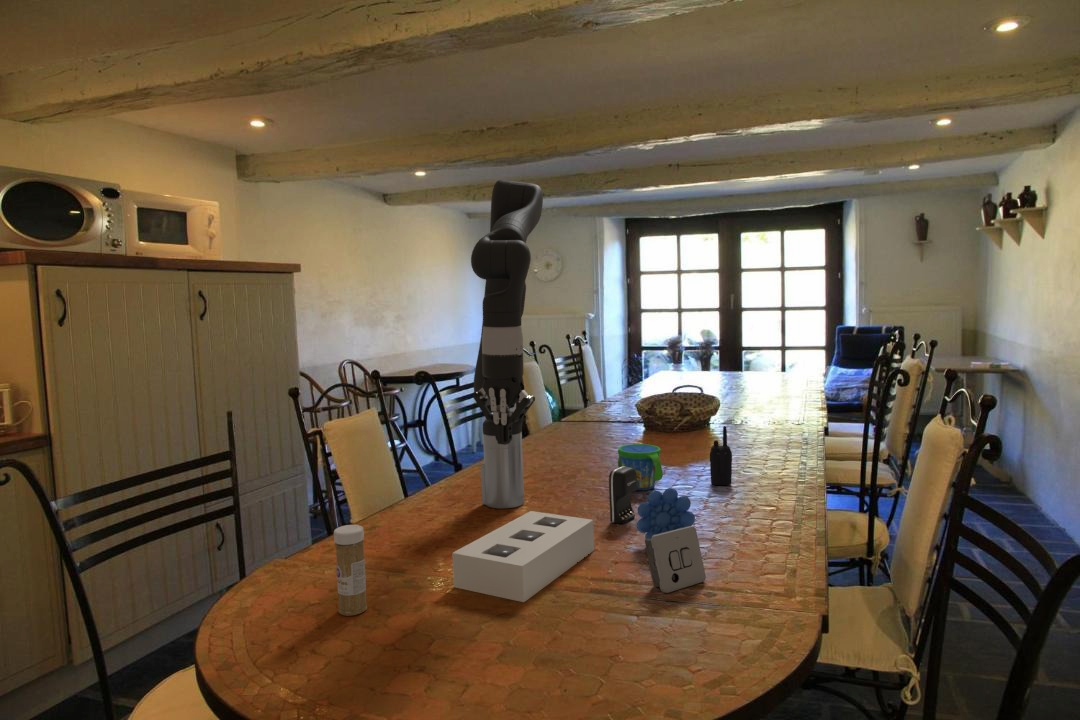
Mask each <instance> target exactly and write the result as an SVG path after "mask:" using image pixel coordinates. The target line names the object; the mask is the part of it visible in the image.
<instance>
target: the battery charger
mask: <svg viewBox="0 0 1080 720" xmlns="http://www.w3.org/2000/svg"><path fill="white" fill-rule="evenodd" d="M636 491H638V490H637V473H636V471H635V469H633V468H630V467H625V466H622V467H616V468H614V469H612V470H611V471H610V472H609V475H608V494H609V517H610V518H609V519H610V521H609V522H611V523H613V524H625V523H627V522H629V521H631V520H632V519H634V518H635V517H636V513H635V512H634V508H633V505H632V494H633V493H635V492H636Z"/></svg>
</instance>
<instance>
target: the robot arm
mask: <svg viewBox="0 0 1080 720" xmlns="http://www.w3.org/2000/svg"><path fill="white" fill-rule="evenodd" d="M543 203H544V194H543V190H542V188H541V186H539V185H537V184H535V183H531V182H522V181H516V180H515V181H514V180H506V179H498V180H496V182H495V183H494V185H493V188H492V192H491V201H490V229H489V232H488V233H487V234H485V235H484V236H483V237H481V238H480V239H478V241H477V242H476V244H475V245H474V247H473V250H472V252H471V256H470V265H471V268H472V271H473V273H474V275H476V276H477V277H478V278H479V279H482V280H485V285H484V287H485V288H484V296H483V300H482V325H481V334H480V341H479V349H478V353H477V358H476V363H475V369H474V377H473V393H472V397H473V399H474V401H475V402H476V404H477V405H478V408H479V409H480V411H481V413H482V414H483V415H484V417H485V420H484V421H483V422H482V442H483V443H482V444H483V445H482V447H483V463H482V464H481V465H480V480H481V481H480V482H481V483H480V484H481V503H482V505H485V506H487V507H489V508H492V509H512V508H517V507H520V506H522V505H524V504H525V491H524V487H525V486H524V485H525V484H524V463H523V462H524V460H523V458H524V456H523V455H524V454H523V434H522V433H523V432H522V431H523V428H522V427H523V426H522V425H523V423H524V416H525V415H526V413H528V411H529V409H530V408H531V406H532V405H533V404H534V402H535V400H536V397H535V396H534V395H530V394H529V393H528V392H527V391H526V390H525V383H524V378H523V376H524V337H523V328H522V317H523V315H524V310H525V303H526V302H525V301H526V292H527V284H526V279H527V276H528V273H529V269H530V266H531V259H532V258H531V257H532V256H531V251H530V248H529V246H528V245H527V239H528V237H529V235H530V234H531V233H532V232H533V231H534V229H535V228H536V226H537V225H538V223H539V222H540V220H541V216H542V212H543V205H544V204H543Z"/></svg>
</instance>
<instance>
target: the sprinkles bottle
mask: <svg viewBox="0 0 1080 720" xmlns="http://www.w3.org/2000/svg"><path fill="white" fill-rule="evenodd" d="M364 539H365V531H364V527H363V526H361V525H359V524H346V525H341V526H339V527H337V528H335V529H334V531H333V542H334V544H335V551H336V555H335V556H336V579H337V580H336V581H337V583H336V585H337V595H338V610H337V611H338V613H339V614H340V615H342V616H347V617H350V616H351V617H352V616H357V615H359V614H362V613H363V612H366V611H367V609H368V604H367V593H366V592H367V590H366V589H367V583H366V582H367V581H366V563H365V552H364V551H365V550H364Z"/></svg>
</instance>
